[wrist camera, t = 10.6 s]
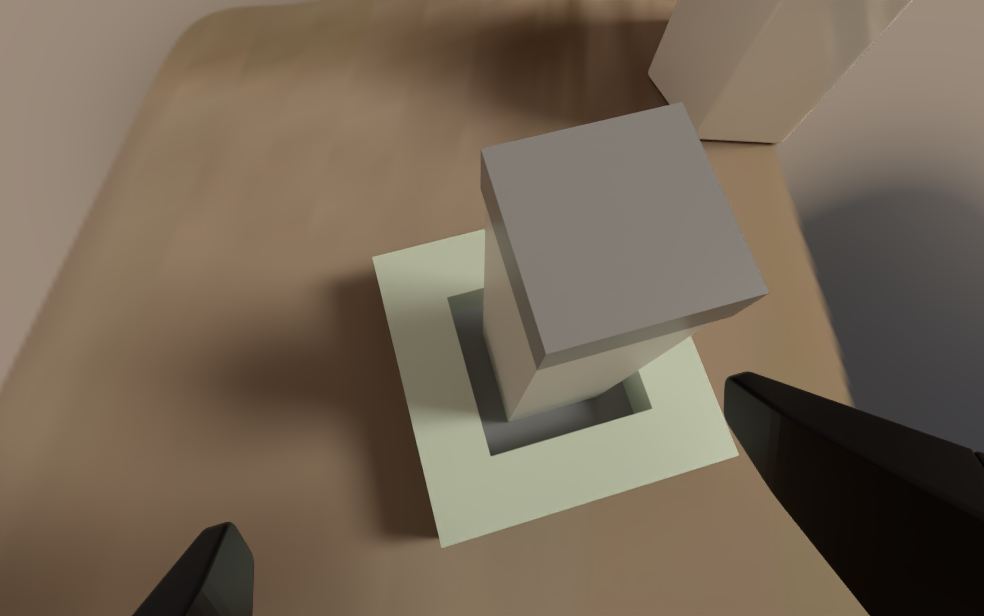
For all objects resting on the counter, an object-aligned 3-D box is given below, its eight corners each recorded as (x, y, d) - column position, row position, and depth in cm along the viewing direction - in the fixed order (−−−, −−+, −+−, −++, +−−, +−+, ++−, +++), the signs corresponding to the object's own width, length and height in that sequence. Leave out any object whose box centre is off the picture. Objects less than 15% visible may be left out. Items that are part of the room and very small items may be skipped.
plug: (600, 398, 23) (769, 292, 10) (506, 425, 23) (546, 354, 9) (570, 308, 24) (682, 102, 11) (479, 331, 24) (480, 148, 10)
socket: (706, 457, 23) (739, 455, 20) (446, 538, 22) (441, 547, 19) (615, 222, 26) (632, 191, 23) (384, 282, 25) (372, 257, 22)
